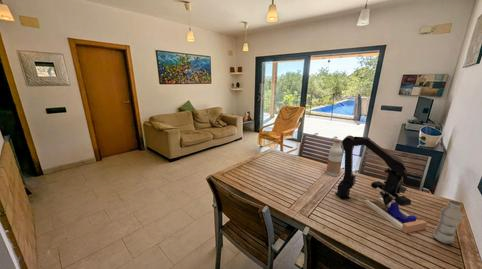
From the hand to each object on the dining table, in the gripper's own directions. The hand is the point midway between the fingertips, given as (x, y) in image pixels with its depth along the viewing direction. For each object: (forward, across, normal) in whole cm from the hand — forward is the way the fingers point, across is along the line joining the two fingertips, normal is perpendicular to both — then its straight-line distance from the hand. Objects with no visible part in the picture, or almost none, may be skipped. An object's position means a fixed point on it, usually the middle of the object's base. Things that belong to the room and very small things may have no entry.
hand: (386, 205), depth 107 cm
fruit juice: (+5, +45, 0) cm, 45 cm away
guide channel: (+3, -3, 0) cm, 4 cm away
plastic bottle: (+2, -23, -6) cm, 24 cm away
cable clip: (+3, -8, -1) cm, 8 cm away
